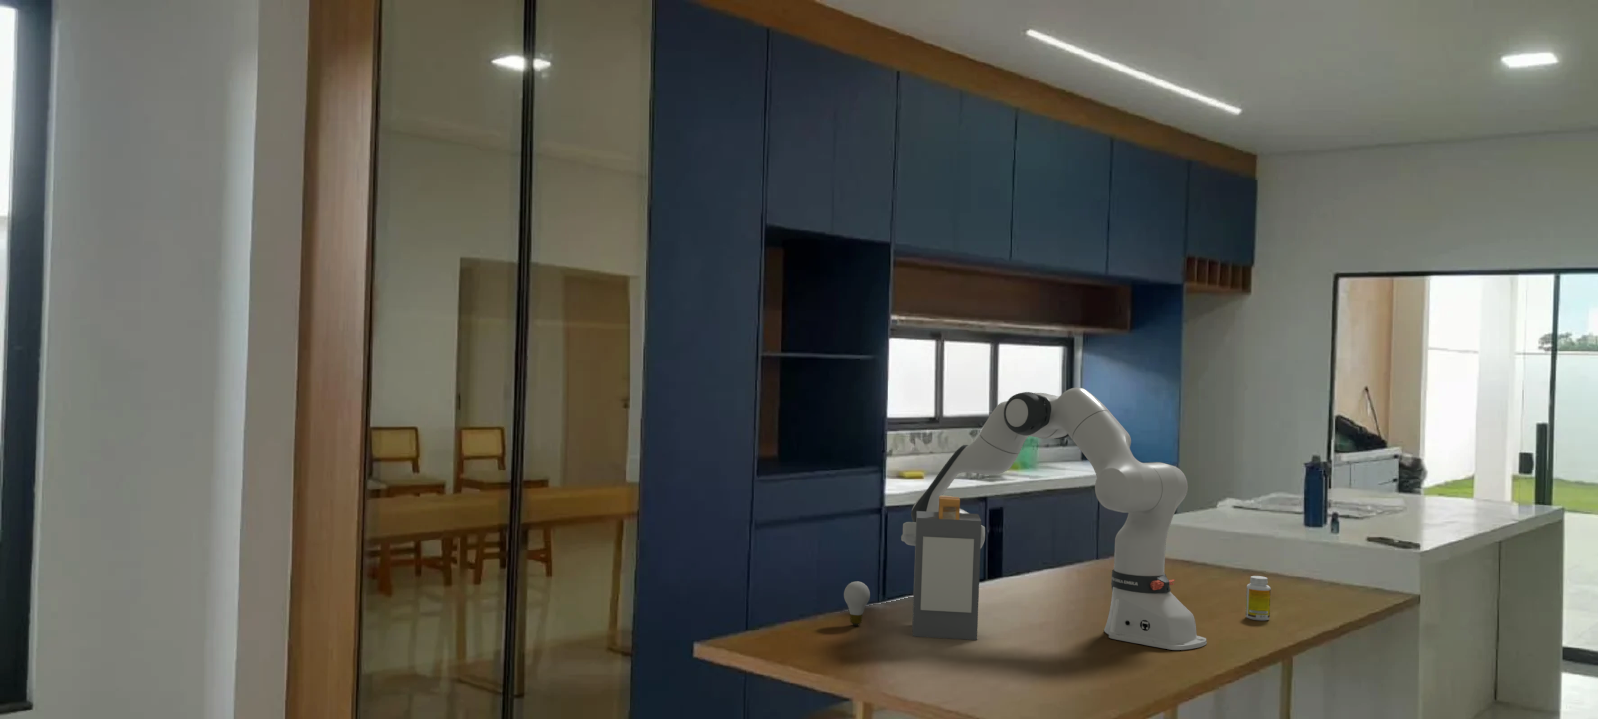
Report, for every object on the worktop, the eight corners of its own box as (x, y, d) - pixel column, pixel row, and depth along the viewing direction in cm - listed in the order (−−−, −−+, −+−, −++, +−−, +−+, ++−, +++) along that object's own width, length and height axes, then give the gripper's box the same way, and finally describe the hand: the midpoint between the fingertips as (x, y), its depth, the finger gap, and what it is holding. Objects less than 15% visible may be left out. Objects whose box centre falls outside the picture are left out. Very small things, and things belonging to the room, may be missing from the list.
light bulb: (866, 629, 268) (868, 584, 268) (840, 627, 270) (842, 582, 270) (870, 623, 274) (872, 580, 274) (845, 621, 275) (846, 578, 275)
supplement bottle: (1273, 621, 293) (1275, 579, 293) (1250, 620, 293) (1252, 579, 293) (1263, 616, 299) (1265, 575, 299) (1241, 615, 298) (1243, 574, 298)
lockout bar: (936, 506, 285) (937, 488, 285) (955, 507, 284) (955, 489, 284) (938, 518, 263) (939, 498, 263) (959, 519, 263) (959, 499, 263)
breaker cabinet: (912, 624, 275) (916, 511, 275) (973, 627, 274) (978, 513, 274) (912, 636, 263) (917, 518, 263) (977, 640, 262) (981, 521, 262)
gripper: (901, 529, 305) (902, 508, 293) (982, 533, 303) (986, 511, 291) (900, 553, 302) (901, 532, 290) (982, 557, 300) (986, 536, 288)
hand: (944, 522), depth 291 cm, fingers open, 8 cm apart
